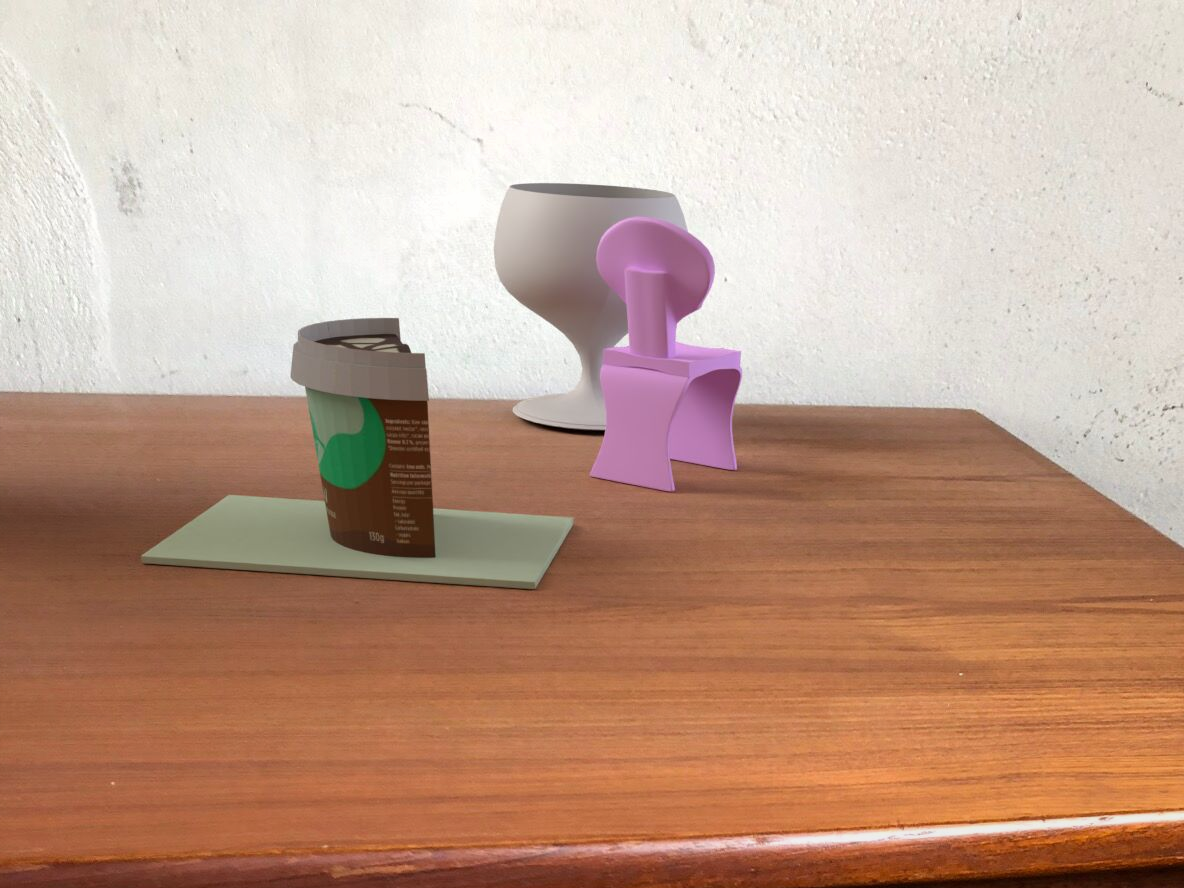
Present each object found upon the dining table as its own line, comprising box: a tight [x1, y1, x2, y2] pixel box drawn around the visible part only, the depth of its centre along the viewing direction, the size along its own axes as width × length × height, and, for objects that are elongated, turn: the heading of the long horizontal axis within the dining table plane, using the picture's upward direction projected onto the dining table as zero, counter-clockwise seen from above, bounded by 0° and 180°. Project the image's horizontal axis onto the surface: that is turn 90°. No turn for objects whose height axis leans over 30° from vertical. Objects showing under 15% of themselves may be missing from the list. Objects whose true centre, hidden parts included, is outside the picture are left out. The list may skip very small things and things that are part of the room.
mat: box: [140, 494, 574, 590], centre depth 81 cm, size 20×13×1 cm, turn 88°
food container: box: [289, 317, 436, 558], centre depth 79 cm, size 12×6×10 cm, turn 18°
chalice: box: [493, 182, 689, 432], centre depth 109 cm, size 14×14×15 cm
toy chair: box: [589, 217, 743, 492], centre depth 95 cm, size 8×9×15 cm
